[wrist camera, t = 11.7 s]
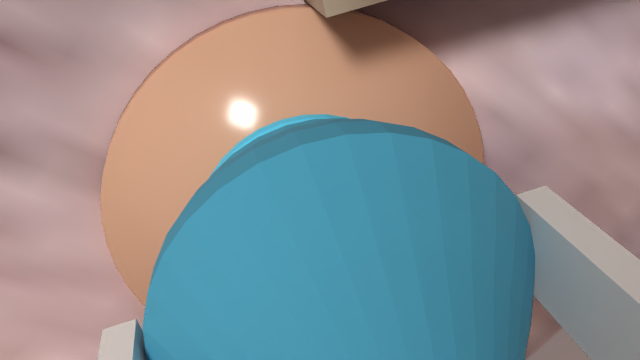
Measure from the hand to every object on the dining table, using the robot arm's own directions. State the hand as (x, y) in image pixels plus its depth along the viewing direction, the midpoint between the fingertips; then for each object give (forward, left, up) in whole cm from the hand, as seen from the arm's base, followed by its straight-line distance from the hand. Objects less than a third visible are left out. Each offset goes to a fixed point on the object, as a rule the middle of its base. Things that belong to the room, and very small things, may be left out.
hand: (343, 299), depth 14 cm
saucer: (0, 0, -6) cm, 6 cm away
